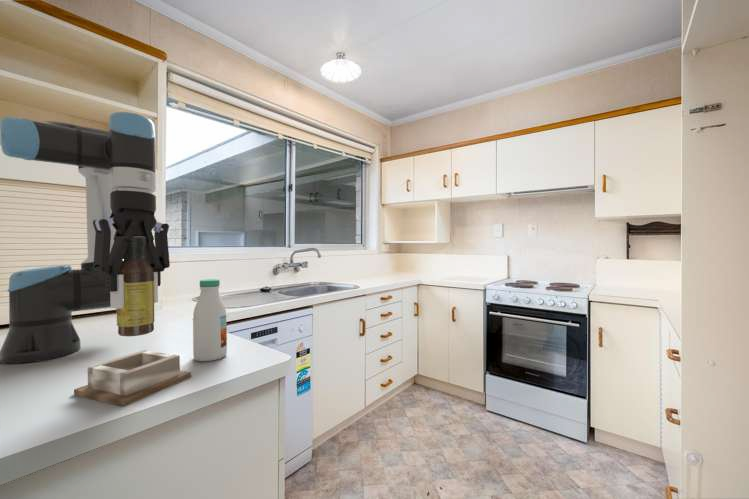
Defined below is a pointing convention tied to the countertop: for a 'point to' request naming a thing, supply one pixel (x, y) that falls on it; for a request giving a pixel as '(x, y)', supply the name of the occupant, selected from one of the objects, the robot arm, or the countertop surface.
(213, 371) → the countertop surface
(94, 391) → the socket board
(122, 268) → the sauce bottle
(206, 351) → the milk bottle
